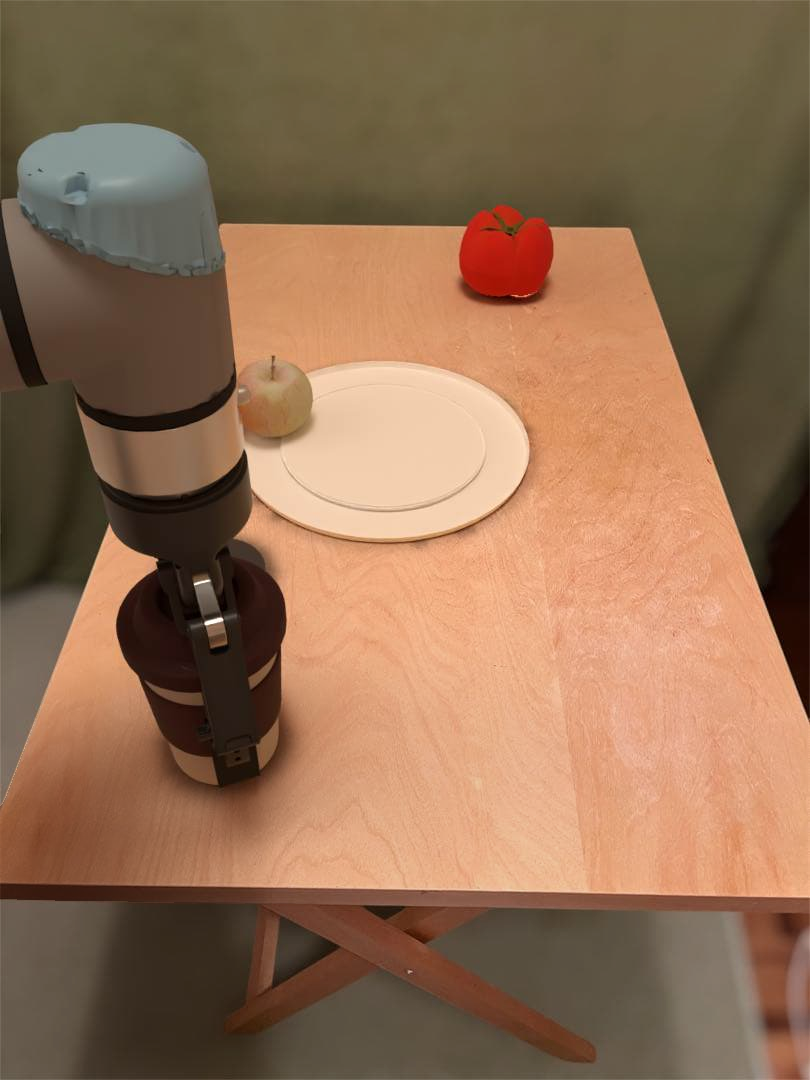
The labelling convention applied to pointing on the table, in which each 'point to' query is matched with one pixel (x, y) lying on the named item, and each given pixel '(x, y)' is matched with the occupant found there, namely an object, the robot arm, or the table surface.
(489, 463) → the plate
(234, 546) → the slate coaster
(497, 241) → the tomato
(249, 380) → the fruit
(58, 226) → the robot arm
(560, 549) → the table surface
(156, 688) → the coffee cup
